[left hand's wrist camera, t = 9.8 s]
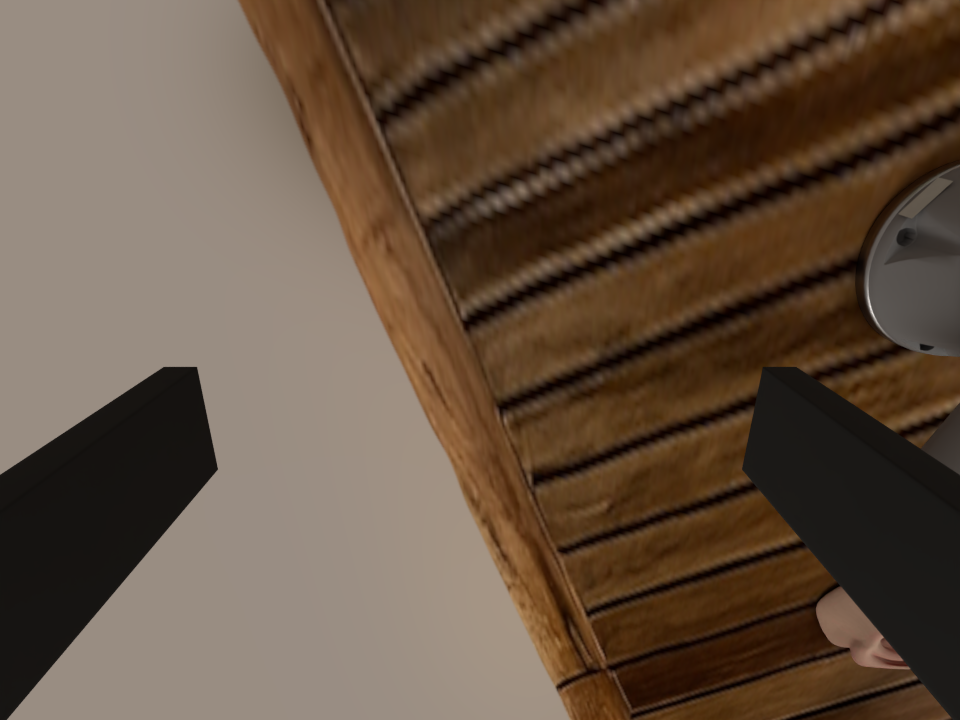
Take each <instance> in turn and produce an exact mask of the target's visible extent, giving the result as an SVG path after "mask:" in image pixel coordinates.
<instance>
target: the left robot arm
mask: <svg viewBox="0 0 960 720" xmlns="http://www.w3.org/2000/svg"><path fill="white" fill-rule="evenodd" d="M855 284H856V294H857V299H858V303H859V306H860V309H861V311H862V313H863V315H864V317H865V319H866V320H867V322H868V323H869V324H870V325H871V327H872V328H873V329H874V330H875V331H876V332H877V333H879V334H880V335H881V336H883V337H884V338H886V339H888V340H890V341H892V342H894V343H896V344H898V345H901V346H903V347H905V348H908V349H910V350H913V351H917V352H921V353H926V354H932V355H940V356H957V357H960V160H959V161H956V162H952V163H949V164H946V165H944V166H942V167H939V168H937V169H935V170H933V171H931V172H929V173H927V174H925V175H924V176H922V177H921V178H919V179H917V180H916V181H915V182H913V183H912V184H910V185H909V186H908V187H906V188H905V189H904V190H903V191H902V192H901V193H899V194H898V195H897V196H896V197H895V198H894V199H893V200H892V201H891V202H890V203H889V205H888V206H887V207H886V208H885V209H884V210H883V212H882V213H881V214H880V216H879V217H878V218H877V220H876V221H875V223H874V225H873V226H872V228H871V229H870V231H869V233H868V235H867V237H866V239H865V242H864V244H863V246H862V249H861V252H860V255H859V259H858V263H857V269H856V283H855ZM217 470H218V468H217V463H216V458H215V453H214V448H213V443H212V438H211V433H210V429H209V424H208V419H207V414H206V409H205V404H204V399H203V394H202V389H201V384H200V380H199V375H198V370H197V367H163V368H162V369H160V370H159V371H157V372H156V373H154V374H153V375H151V376H149V377H148V378H147V379H145V380H143V381H142V382H140V383H139V384H137V385H136V386H134V387H133V388H131V389H130V390H128V391H127V392H125V393H124V394H122V395H121V396H119V397H118V398H116V399H115V400H113V401H112V402H110V403H109V404H107V405H105V406H104V407H103V408H101V409H99V410H98V411H96V412H95V413H93V414H92V415H90V416H89V417H87V418H86V419H84V420H83V421H81V422H80V423H78V424H77V425H75V426H74V427H72V428H71V429H69V430H68V431H66V432H65V433H63V434H61V435H60V436H58V437H57V438H55V439H54V440H52V441H51V442H49V443H48V444H46V445H45V446H43V447H42V448H40V449H39V450H37V451H36V452H34V453H33V454H31V455H30V456H28V457H27V458H25V459H24V460H22V461H20V462H19V463H17V464H16V465H14V466H13V467H11V468H10V469H8V470H7V471H5V472H4V473H2V474H1V475H0V720H7V719H8V718H9V716H10V715H11V714H12V713H13V712H14V711H15V709H16V708H17V707H18V706H19V704H20V703H21V702H22V701H23V700H24V699H25V697H26V696H27V695H28V694H29V693H30V691H31V690H32V689H33V688H34V687H35V686H36V684H37V683H38V682H39V681H40V680H41V678H42V677H43V676H44V675H45V674H46V672H47V671H48V670H49V669H50V668H51V667H52V665H53V664H54V663H55V662H56V661H57V659H58V658H59V657H60V656H61V655H62V654H63V652H64V651H65V650H66V649H67V648H68V646H69V645H70V644H71V643H72V642H73V640H74V639H75V638H76V637H77V636H78V635H79V633H80V632H81V631H82V630H83V629H84V628H85V626H86V625H87V624H88V623H89V622H90V620H91V619H92V618H93V617H94V616H95V614H96V613H97V612H98V611H99V610H100V609H101V607H102V606H103V605H104V604H105V603H106V601H107V600H108V599H109V598H110V597H111V595H112V594H113V593H114V592H115V591H116V590H117V588H118V587H119V586H120V585H121V584H122V582H123V581H124V580H125V579H126V578H127V576H128V575H129V574H130V573H131V572H132V571H133V569H134V568H135V567H136V566H137V565H138V564H139V562H140V561H141V560H142V559H143V558H144V556H145V555H146V554H147V553H148V552H149V550H150V549H151V548H152V547H153V546H154V545H155V543H156V542H157V541H158V540H159V539H160V537H161V536H162V535H163V534H164V533H165V532H166V530H167V529H168V528H169V527H170V526H171V524H172V523H173V522H174V521H175V520H176V518H177V517H178V516H179V515H180V514H181V513H182V511H183V510H184V509H185V508H186V507H187V505H188V504H189V503H190V502H191V501H192V499H193V498H194V497H195V496H196V495H197V494H198V492H199V491H200V490H201V489H202V488H203V486H204V485H205V484H206V483H207V482H208V480H209V479H210V478H211V477H212V476H213V475H214V473H215V472H216V471H217ZM742 470H743V471H744V472H745V473H746V475H747V476H748V477H749V478H750V479H751V481H752V482H753V483H754V484H755V485H756V486H757V488H758V489H759V490H760V491H761V492H762V494H763V495H764V496H765V497H766V498H767V500H768V501H769V502H770V503H771V504H772V505H773V507H774V508H775V509H776V510H777V511H778V513H779V514H780V515H781V516H782V517H783V518H784V520H785V521H786V522H787V523H788V524H789V526H790V527H791V528H792V529H793V530H794V532H795V533H796V534H797V535H798V536H799V537H800V539H801V540H802V541H803V542H804V543H805V545H806V546H807V547H808V548H809V549H810V550H811V552H812V553H813V554H814V555H815V556H816V558H817V559H818V560H819V561H820V562H821V564H822V565H823V566H824V567H825V568H826V569H827V571H828V572H829V573H830V574H831V575H832V577H833V578H834V579H835V580H836V581H837V582H838V584H839V585H840V586H841V587H842V588H843V590H844V591H845V592H846V593H847V594H848V596H849V597H850V598H851V599H852V600H853V601H854V603H855V604H856V605H857V606H858V607H859V609H860V610H861V611H862V612H863V613H864V614H865V616H866V617H867V618H868V619H869V620H870V622H871V623H872V624H873V625H874V626H875V628H876V629H877V630H878V631H879V632H880V633H881V635H882V636H883V637H884V638H885V639H886V641H887V642H888V643H889V644H890V645H891V646H892V648H893V649H894V650H895V651H896V652H897V654H898V655H899V656H900V657H901V658H902V660H903V661H904V662H905V663H906V664H907V665H908V667H909V668H910V669H911V670H912V671H913V673H914V674H915V675H916V676H917V677H918V678H919V680H920V681H921V682H922V683H923V684H924V686H925V687H926V688H927V689H928V690H929V692H930V693H931V694H932V695H933V696H934V697H935V699H936V700H937V701H938V702H939V703H940V705H941V706H942V707H943V708H944V709H945V711H946V712H947V713H948V714H949V715H950V716H951V718H952V719H953V720H960V403H959V404H958V406H957V407H956V408H955V409H954V410H953V411H952V413H951V414H950V415H949V416H948V417H947V419H946V420H945V421H944V422H943V423H942V424H941V426H940V427H939V428H938V429H937V430H936V431H935V433H934V434H933V435H932V436H931V437H930V439H929V440H928V441H927V442H926V443H925V444H924V446H923V447H922V448H921V449H920V448H918V447H917V446H915V445H914V444H912V443H911V442H909V441H908V440H906V439H905V438H903V437H902V436H900V435H899V434H897V433H895V432H894V431H892V430H891V429H889V428H888V427H886V426H885V425H883V424H882V423H880V422H879V421H877V420H876V419H874V418H873V417H871V416H870V415H868V414H867V413H865V412H864V411H862V410H861V409H859V408H858V407H856V406H855V405H853V404H851V403H850V402H848V401H847V400H845V399H844V398H842V397H841V396H839V395H838V394H836V393H835V392H833V391H832V390H830V389H829V388H827V387H826V386H824V385H823V384H821V383H820V382H818V381H817V380H815V379H814V378H812V377H811V376H809V375H807V374H806V373H804V372H803V371H801V370H800V369H798V368H797V367H763V370H762V375H761V380H760V384H759V389H758V394H757V399H756V404H755V409H754V414H753V419H752V423H751V428H750V433H749V438H748V443H747V448H746V453H745V458H744V463H743V467H742Z"/></svg>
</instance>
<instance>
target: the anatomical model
mask: <svg viewBox="0 0 960 720" xmlns="http://www.w3.org/2000/svg"><path fill="white" fill-rule="evenodd" d="M816 613H817V617H818V620H819V623H820V626H821V628H822V630H823V632H824V633H825V635H826V636H827V638H828V639H829V641H831V642H832V643H833V644H835V645H837V646H841V647H849V648H850V650H851V655H852V658H853V660H854V661H855V662H856V663H857V664H859V665H861V666H866V667H877V668H890V669H910V668H909V667H908V665H907V664H906V663H905V662H904V661H903V660H902V658H901V657H900V656H899V655H898V654H897V652H896V651H895V650H894V649H893V648H892V646H891V645H890V644H889V643H888V642H887V641H886V639H885V638H884V637H883V636H882V635H881V633H880V632H879V631H878V630H877V629H876V628H875V626H874V625H873V624H872V623H871V622H870V620H869V619H868V618H867V617H866V616H865V614H864V613H863V612H862V611H861V610H860V609H859V607H858V606H857V605H856V604H855V603H854V601H853V600H852V599H851V598H850V597H849V596H848V594H847V593H846V592H845V591H844V590H843V588H842V587H841V586H839V587H838V588H836V589H834V590H832V591H831V592H829V593H828V594H826V595H825V596H824V597H823V598H822V599H820V601H819V602H818V604H817V606H816Z"/></svg>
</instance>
